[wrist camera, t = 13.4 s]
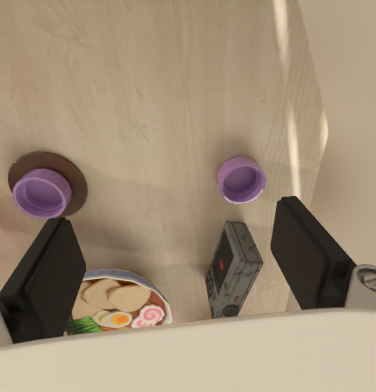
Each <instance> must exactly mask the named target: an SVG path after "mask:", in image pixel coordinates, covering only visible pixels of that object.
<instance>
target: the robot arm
mask: <svg viewBox="0 0 376 392" xmlns="http://www.w3.org/2000/svg"><path fill="white" fill-rule="evenodd" d="M271 251H272V254H273V256H274V257H275V259H276V261H277V263H278V265H279V267H280V269H281V271H282V273H283V275H284V277H285V279H286V280H287V282H288V284H289V286H290V288H291V290H292V292H293V294H294V296H295V298H296V300H297V301H298V303H299V305H300V307H301V309H302V310H297V311H286V312H276V313H266V314H257V315H247V316H238V317H228V318H219V319H209V320H200V321H191V322H182V323H173V324H164V325H155V326H146V327H138V328H129V329H120V330H112V331H103V332H95V333H86V334H78V335H70V336H64V333H65V330H66V327H67V324H68V321H69V318H70V315H71V312H72V309H73V307H74V304H75V301H76V298H77V295H78V292H79V289H80V286H81V283H82V280H83V278H84V275H85V272H86V263H85V260H84V257H83V255H82V252H81V249H80V246H79V244H78V241H77V238H76V236H75V233H74V230H73V227H72V225H71V222H70V221H69V220H66V219H65V218H64V217H57V218H49V219H48V221H47V222H46V224H45V225H44V227H43V228H42V230H41V231H40V233H39V234H38V236H37V237H36V239H35V240H34V242H33V243H32V245H31V246H30V248H29V249H28V251H27V252H26V254H25V255H24V257H23V258H22V260H21V261H20V263H19V264H18V266H17V267H16V269H15V270H14V272H13V273H12V275H11V276H10V278H9V279H8V281H7V282H6V284H5V285H4V287H3V288H2V290H1V292H0V392H376V266H374V265H367V264H363V265H358V266H357V265H356V264H355V263H354V261H353V260H352V259H351V258H350V257H349V256H348V255H347V254H346V252H344V250H343V249H342V248H341V247H340V246H339V244H338V243H337V242H336V241H335V240H334V239H333V238H332V236H331V235H330V234H329V233H328V232H327V231H326V230H325V228H324V227H323V226H322V225H321V224H320V223H319V222H318V221H317V220H316V218H315V217H314V216H313V215H312V214H311V213H310V211H309V210H308V209H307V208H306V207H305V206H304V205H303V203H302V202H301V201H300V200H299V199H298V198H297V197H296V196H289V197H282V198H281V200H280V201H278V202H277V207H276V213H275V220H274V226H273V233H272V239H271Z"/></svg>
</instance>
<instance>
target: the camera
mask: <svg viewBox="0 0 376 392" xmlns="http://www.w3.org/2000/svg"><path fill="white" fill-rule="evenodd" d="M262 265H263V260H262V258H261V256H260V254H259V251H258V249H257V247H256V245H255V243H254V241H253V238H252V236H251V234H250V232H249V230H248V228H247V226H246V224H245V223H238V222H230V221H226V223H225V226H224V229H223V232H222V234H221V237H220V240H219V243H218V246H217V248H216V251H215V254H214V257H213V260H212V262H211V265H210V268H209V271H208V274H207V276H206V279H205V282H206V287H207V293H208V299H209V304H210V310H211V316H212V319H219V318H228V317H237V315H238V313H239V311H240V309H241V307H242V305H243V303H244V301H245V299H246V297H247V295H248V293H249V291H250V289H251V287H252V285H253V283H254V281H255V279H256V277H257V275H258V273H259V271H260V269H261V267H262Z"/></svg>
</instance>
